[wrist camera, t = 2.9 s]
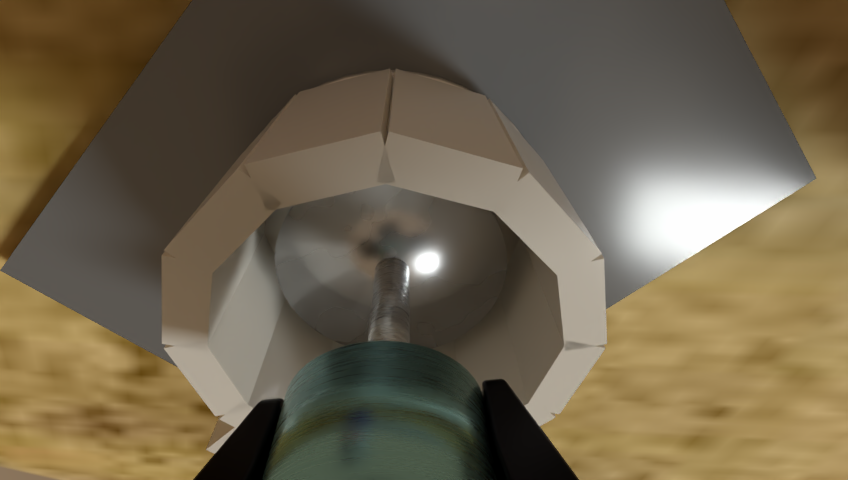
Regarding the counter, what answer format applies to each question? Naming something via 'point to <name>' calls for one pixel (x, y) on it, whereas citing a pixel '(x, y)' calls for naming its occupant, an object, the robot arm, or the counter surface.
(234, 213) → the thick white ring cup
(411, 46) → the plate
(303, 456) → the wine glass
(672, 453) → the counter surface
